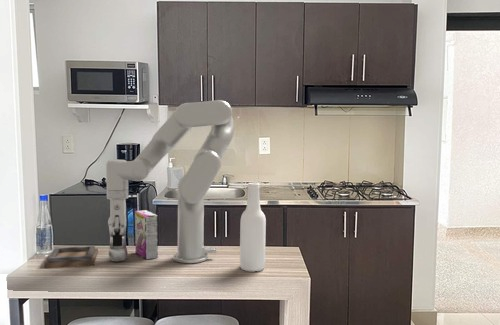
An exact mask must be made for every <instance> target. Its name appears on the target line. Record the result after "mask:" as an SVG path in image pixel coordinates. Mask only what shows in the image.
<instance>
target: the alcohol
mask: <svg viewBox="0 0 500 325" xmlns="http://www.w3.org/2000/svg"><path fill="white" fill-rule="evenodd" d="M247 184H248V186H247V188H248V190H247V200H246V208H245V210H244V211H243V212H242V214H241V217H240V229H239V230H240V232H239V234H240V236H239V237H240V238H239V267H240V269H241V270H242V271H244V270H245V272H249V273H251V272H253V273H255V271H257V272H261V271H263V270H264V269H265V266H266V235H267V234H266V231H267V230H266V226H267V223H266V222H267V219H266V215H265V214H264V212H263V211H262V208H261V201H260V200H261V199H260V197H261V195H260V185H261V184H260V183H258V182H248V183H247ZM263 268H264V269H263Z"/></svg>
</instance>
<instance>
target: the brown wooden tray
mask: <svg viewBox="0 0 500 325" xmlns="http://www.w3.org/2000/svg"><path fill="white" fill-rule="evenodd" d="M98 254H99V249H98V248H96V245H84V246H83V245H81V246H79V245H77V246H61V247H60V246H59V247H58V246H57V247H55V248H54V249H53V250H52V252H51V253H50V254H49V256H48V258H47V259H46V261H45V262H44V268H45V269H50V268H66V267H67V268H69V267H85V266H86V267H90V266H95V263H96V260H97V256H98Z"/></svg>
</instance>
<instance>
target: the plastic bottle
mask: <svg viewBox="0 0 500 325" xmlns="http://www.w3.org/2000/svg"><path fill="white" fill-rule="evenodd" d="M127 221H128V220H127V218H126V226H125V227H124V226H122V225H121V227H122V228H121V235H122V246H113V227H112V226H111V215H110V216H109V217H108V220H107V224H108V230H109V249H108V258H109V260H110V261H112V262H123V261H125V260H127V258H128V248H127V242H126V237H127V236H126V234H127V233H126V231H127V223H128V222H127ZM114 226H115V221H114ZM119 226H120V224H119ZM119 229H120V228H119Z"/></svg>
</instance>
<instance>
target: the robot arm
mask: <svg viewBox="0 0 500 325" xmlns="http://www.w3.org/2000/svg"><path fill="white" fill-rule="evenodd" d="M232 115H233V109H232V106H231V105H230V103H228V102H227V101H226V100H223V99H217V100H209V101H198V102H185V103H181V104H180V105H179V106H177V107H176V109H175V110H174V112H173V113H171V114H170V116H169V117H168V119H167V120H165V122H164V123H163V124H162V125H161V126H160V127H159V129H157V131H156V132H155V133H154V134H153V136H152V138H151V140H150V141H149V142H148V144H146V146H145V147H144V149H142V150H141V152H140V153H139V154H138V155H137V157H136V158H135V159H133V160H126V159H110V160H108V161H107V162H106V166H105V168H106V199H107V200H109V205H110V206H109V208H110V209H109V210H110V213H109V214H110V216H111V226H112V227H113V246H122V235H121V228H122V227H121V225H122V226H124V227H125V226H126V227H127V225H126V224H127V223H126V219H127V203H126V200H127V199H129V181H135V182H141V181H144V180H146V179H147V178H148V177H149V175H150V173H151V172H152V171H153V170H154V169H155V167H156V166H157V165H158V164H159V163H160V161H162V159H163V158H164V157H165V156H167V155H168V154H169V153H170V152H172V151H173V150H174V149H175V148H176V147H177V145H179V143H180V142H181V141H182V140H183V139H184V137H185V136H186V135H187V134H188V133H189V132H190V130H191V129H192V128H196V127H197V128H198V127H200V128H201V127H207V126H208V127H209V126H210V131H209V133H208V135H207V136H206V138H205V140H204V142H203V143H202V145H201V147H200V148H199V150H198V151H197V152H196V154H195V155H194V157H193V161H192V163H191V164H190V167H189V168H188V170H187V171H186V174H184V175H183V176H181V178H180V179H179V181H178V183H177V252H176V253H175V254H174V255H173V258H172V259H173V261H175V262H177V263H182V264H195V263H196V264H197V263H198V264H199V263H202V262H205V261H206V260H207V259H208V257H209V256H208V254H216V253H217V248H215V247H212V246H211V247H205V245H204V233H205V232H204V229H205V228H204V227H205V226H204V224H205V223H204V222H205V221H204V217H205V201H204V200H205V198H204V197H205V196H206V195H207V193H208V192H209V189H210V188H211V186H212V184H213V183H214V181H215V180H216V177H217V176H218V175H219V172H220V170H221V169H222V168H221V167H222V159H223V156H224V155H225V153H226V151H227V150H228V147H229V145H230V144H231V142H232V140H233V137H234V131H235V122H234V118H233V116H232ZM114 221H115V226H114ZM119 224H120V226H119ZM119 228H120V229H119Z"/></svg>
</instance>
